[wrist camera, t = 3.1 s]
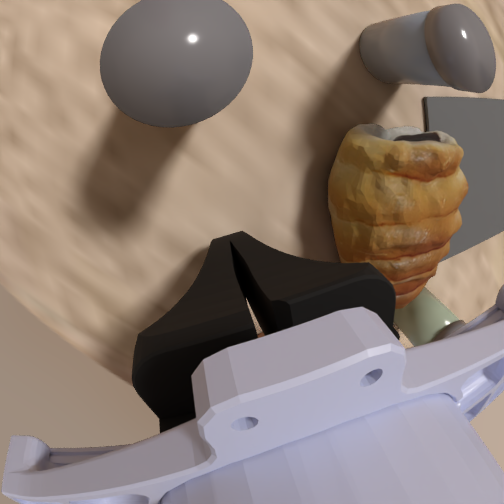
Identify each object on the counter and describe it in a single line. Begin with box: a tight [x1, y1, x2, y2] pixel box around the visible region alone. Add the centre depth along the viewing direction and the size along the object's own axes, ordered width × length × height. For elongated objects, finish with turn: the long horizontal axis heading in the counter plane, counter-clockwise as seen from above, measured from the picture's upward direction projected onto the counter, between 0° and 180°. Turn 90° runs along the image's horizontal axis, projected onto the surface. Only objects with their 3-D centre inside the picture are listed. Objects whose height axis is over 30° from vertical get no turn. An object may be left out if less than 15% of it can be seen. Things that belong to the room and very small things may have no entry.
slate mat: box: [424, 97, 504, 262], centre depth 14 cm, size 10×10×1 cm
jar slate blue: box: [359, 4, 496, 93], centre depth 8 cm, size 3×3×5 cm
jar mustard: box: [100, 0, 253, 127], centre depth 7 cm, size 3×3×5 cm
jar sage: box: [394, 287, 466, 347], centre depth 15 cm, size 3×3×5 cm
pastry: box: [328, 123, 469, 309], centre depth 12 cm, size 9×7×4 cm
